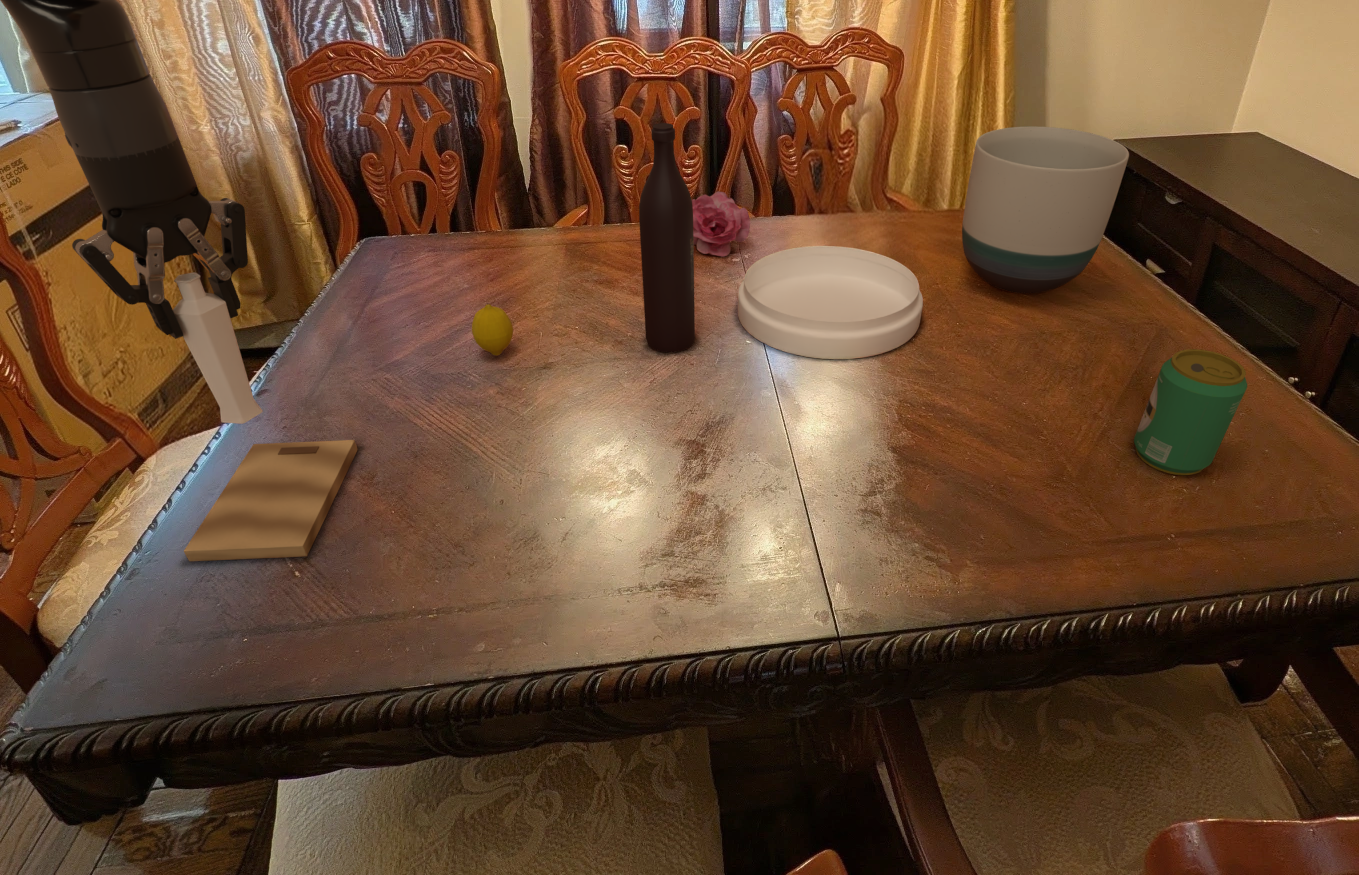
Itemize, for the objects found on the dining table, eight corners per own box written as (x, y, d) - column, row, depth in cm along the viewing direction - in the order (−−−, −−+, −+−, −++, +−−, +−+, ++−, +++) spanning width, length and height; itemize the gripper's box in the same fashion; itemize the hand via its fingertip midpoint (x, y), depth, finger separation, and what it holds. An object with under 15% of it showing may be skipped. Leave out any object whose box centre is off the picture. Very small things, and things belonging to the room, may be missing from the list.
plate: (958, 331, 115) (966, 297, 112) (799, 378, 106) (801, 343, 103) (849, 262, 135) (852, 231, 132) (706, 297, 126) (706, 265, 123)
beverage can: (1138, 427, 96) (1172, 339, 89) (1214, 449, 92) (1256, 359, 85) (1124, 461, 91) (1159, 371, 84) (1203, 486, 87) (1247, 394, 80)
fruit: (512, 341, 116) (504, 291, 112) (520, 359, 112) (511, 308, 108) (474, 348, 115) (464, 298, 110) (480, 367, 111) (469, 315, 106)
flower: (732, 275, 140) (705, 239, 132) (694, 263, 146) (666, 227, 139) (768, 224, 141) (743, 185, 133) (729, 214, 147) (703, 176, 140)
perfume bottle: (275, 402, 83) (225, 267, 75) (251, 426, 80) (196, 287, 71) (234, 399, 84) (180, 265, 75) (209, 423, 80) (149, 285, 72)
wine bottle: (701, 349, 113) (699, 130, 95) (653, 357, 112) (641, 137, 94) (687, 326, 119) (682, 115, 101) (640, 333, 117) (628, 121, 99)
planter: (923, 277, 130) (946, 142, 117) (1005, 247, 138) (1035, 118, 126) (1029, 327, 116) (1069, 180, 103) (1114, 290, 125) (1160, 150, 112)
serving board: (307, 556, 82) (302, 544, 81) (188, 561, 82) (182, 549, 81) (357, 449, 96) (354, 438, 95) (257, 453, 96) (252, 442, 95)
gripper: (41, 171, 59) (139, 368, 69) (232, 127, 68) (295, 308, 78) (10, 152, 63) (107, 342, 73) (194, 113, 72) (258, 287, 82)
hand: (203, 324), depth 76 cm, fingers closed on perfume bottle, 4 cm apart
